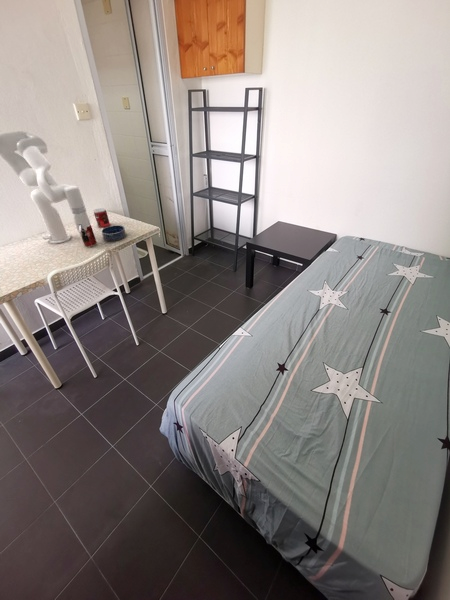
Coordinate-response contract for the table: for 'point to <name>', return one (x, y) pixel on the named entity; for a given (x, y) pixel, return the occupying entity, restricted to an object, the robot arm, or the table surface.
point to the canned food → (101, 217)
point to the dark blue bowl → (113, 233)
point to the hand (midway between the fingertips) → (88, 238)
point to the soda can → (91, 237)
